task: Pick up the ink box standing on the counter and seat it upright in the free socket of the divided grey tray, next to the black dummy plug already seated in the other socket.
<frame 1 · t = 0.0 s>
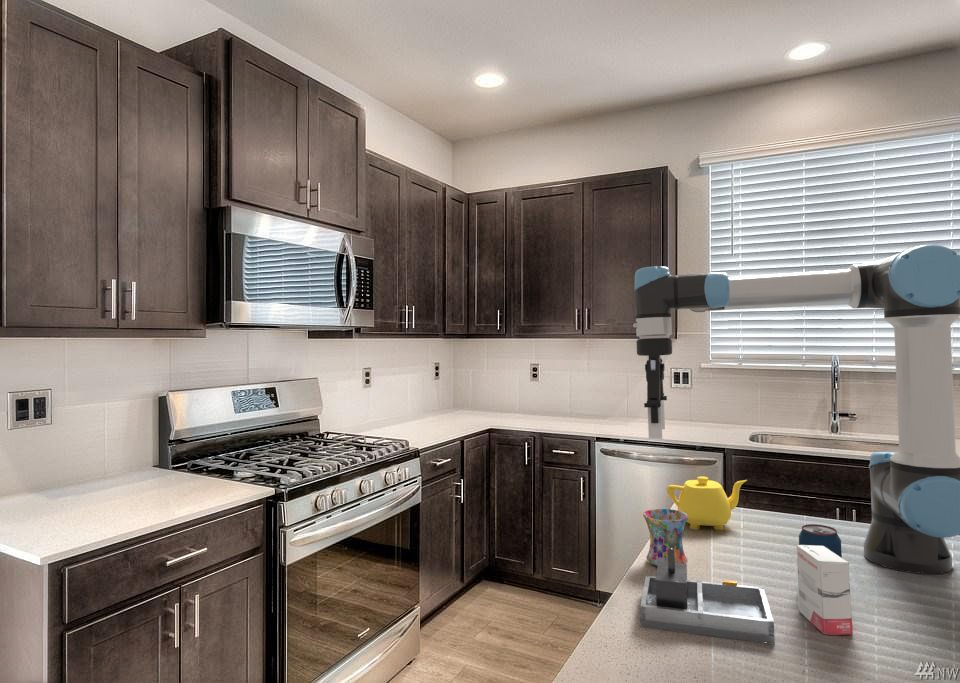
hand: (657, 433, 127), 28 cm above the countertop, fingers open, 13 cm apart
teapot: (707, 525, 151), on the countertop
divided grey tray: (704, 616, 101), on the countertop
soda can: (821, 593, 108), on the countertop
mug: (667, 562, 127), on the countertop
ink box: (824, 624, 97), on the countertop
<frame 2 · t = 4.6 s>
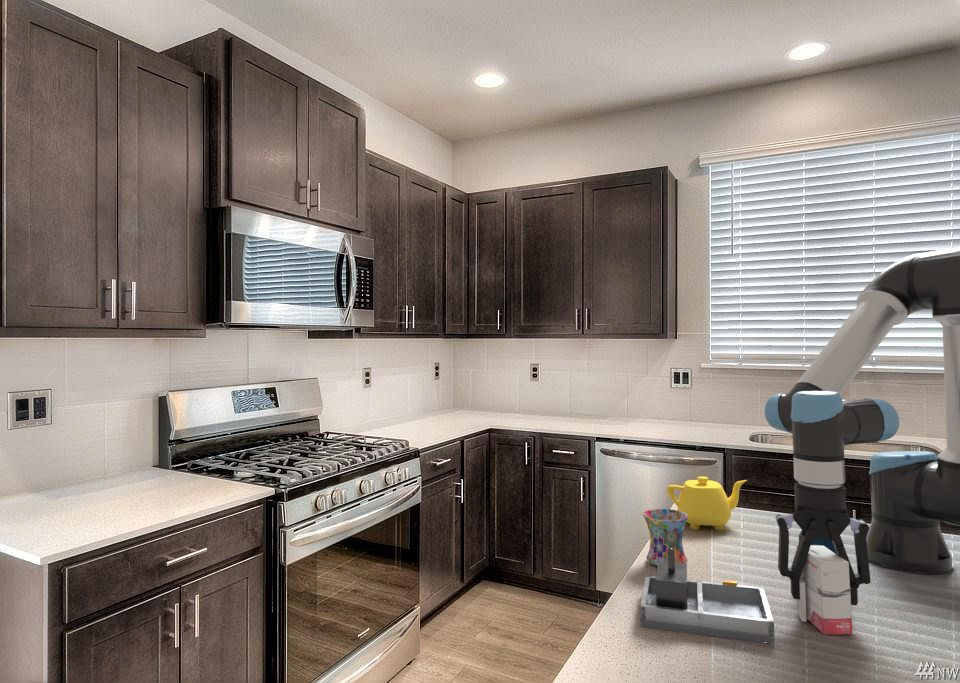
hand: (824, 620, 97), 0 cm above the countertop, fingers closed on ink box, 6 cm apart
ink box: (824, 623, 97), on the countertop, touching gripper
everything else where it was.
when the fingers open (3 cm above the countertop, at t = 9.8 s): ink box drops 2 cm, resting on divided grey tray.
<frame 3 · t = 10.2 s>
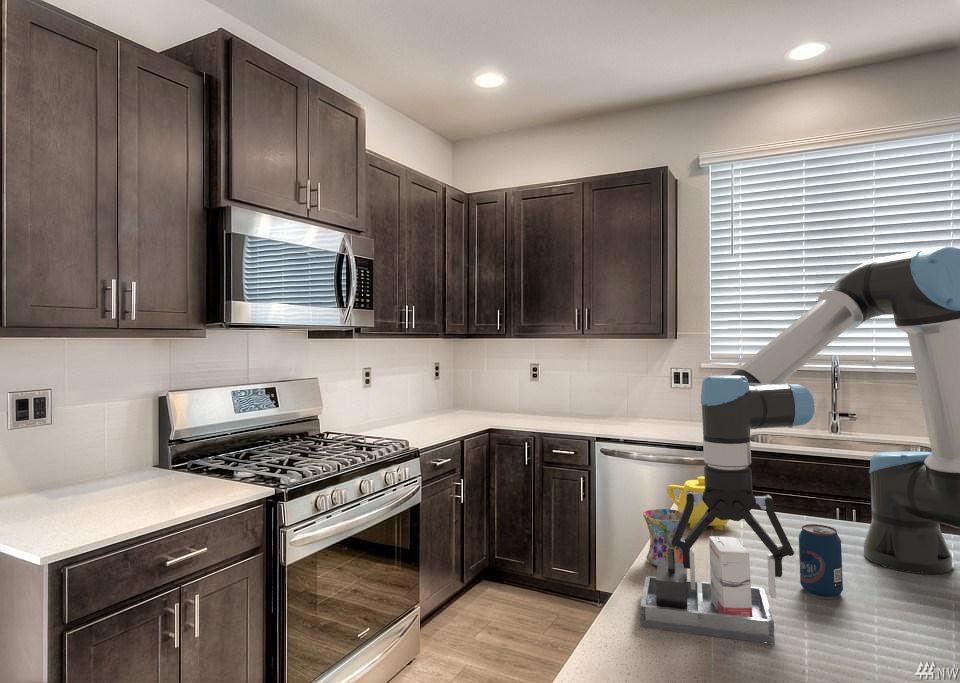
hand: (731, 590, 99), 5 cm above the countertop, fingers open, 12 cm apart
ink box: (731, 613, 99), point 1 cm above the countertop, touching divided grey tray
everything else where it was.
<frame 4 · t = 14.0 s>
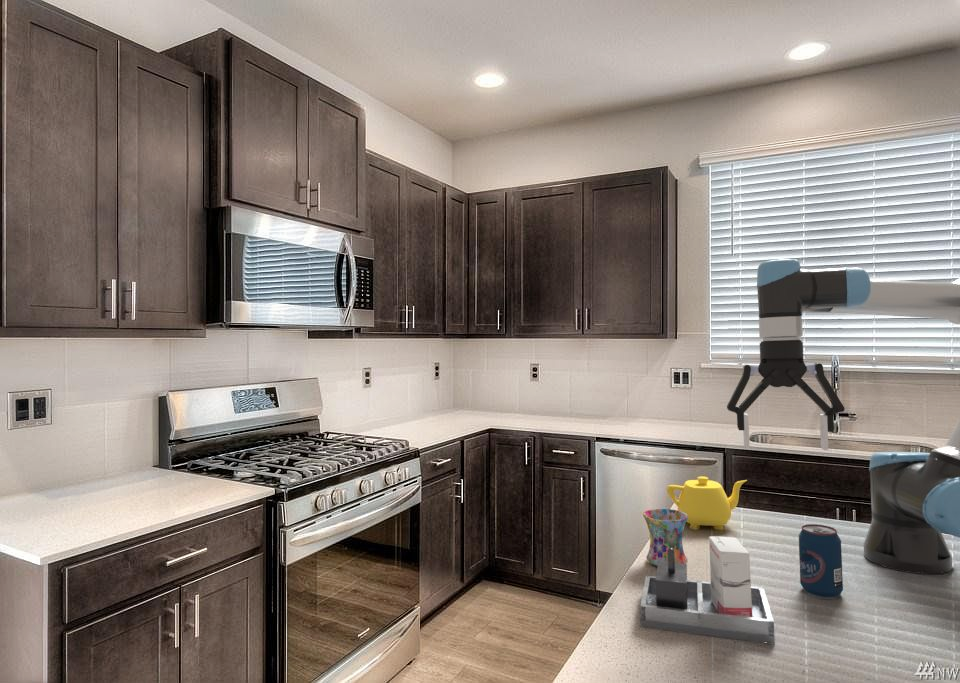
hand: (784, 448, 112), 27 cm above the countertop, fingers open, 13 cm apart
nothing on the countertop moved.
at the end: ink box inside the target area on the divided grey tray (0.3 cm from its centre), point 1.0 cm above the divided grey tray's base; ink box tilted 0°; the gripper is holding nothing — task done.
